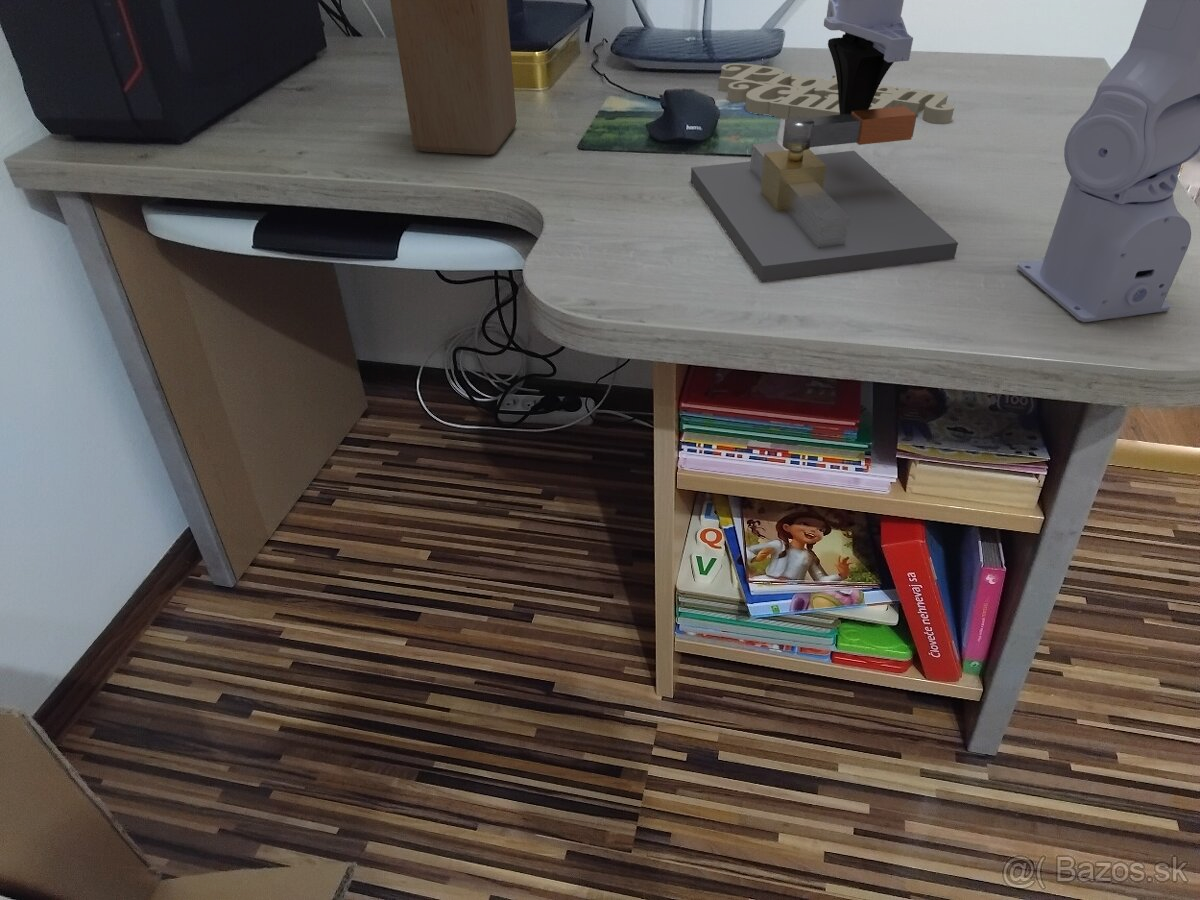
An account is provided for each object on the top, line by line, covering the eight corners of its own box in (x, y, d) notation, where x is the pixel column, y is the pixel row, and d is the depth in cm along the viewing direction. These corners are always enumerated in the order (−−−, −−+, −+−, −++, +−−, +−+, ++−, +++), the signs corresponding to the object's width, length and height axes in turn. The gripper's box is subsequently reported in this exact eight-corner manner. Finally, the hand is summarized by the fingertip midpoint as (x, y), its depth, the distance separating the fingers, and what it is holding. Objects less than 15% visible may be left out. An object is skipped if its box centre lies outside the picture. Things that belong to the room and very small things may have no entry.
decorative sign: (684, 94, 109) (729, 60, 119) (684, 111, 110) (727, 76, 120) (940, 130, 98) (964, 90, 108) (935, 149, 99) (960, 107, 109)
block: (495, 158, 99) (475, -43, 86) (411, 154, 100) (378, -44, 87) (519, 127, 106) (504, -63, 93) (440, 123, 108) (414, -64, 95)
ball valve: (854, 243, 78) (864, 189, 74) (807, 249, 77) (815, 194, 74) (782, 165, 91) (787, 117, 88) (741, 170, 91) (745, 121, 88)
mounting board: (954, 258, 78) (958, 242, 77) (761, 281, 76) (762, 266, 75) (851, 164, 95) (854, 150, 94) (690, 181, 93) (691, 167, 92)
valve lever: (788, 152, 80) (791, 127, 79) (778, 142, 82) (781, 117, 81) (913, 139, 82) (918, 114, 81) (901, 129, 84) (905, 105, 83)
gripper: (804, -50, 83) (788, 97, 92) (867, -15, 72) (842, 148, 81) (875, -55, 84) (852, 91, 93) (947, -21, 73) (914, 141, 82)
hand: (852, 117), depth 87 cm, fingers closed
